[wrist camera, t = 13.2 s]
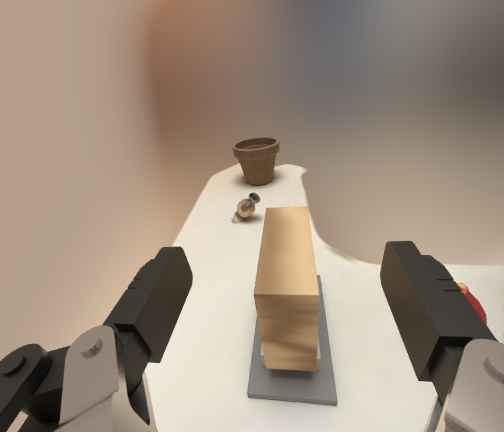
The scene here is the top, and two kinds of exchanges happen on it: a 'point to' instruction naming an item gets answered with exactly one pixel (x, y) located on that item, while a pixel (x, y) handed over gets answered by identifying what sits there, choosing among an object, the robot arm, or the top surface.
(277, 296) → the brown rectangular block
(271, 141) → the flower pot
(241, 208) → the vase
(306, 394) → the peg stand
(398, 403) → the top surface
